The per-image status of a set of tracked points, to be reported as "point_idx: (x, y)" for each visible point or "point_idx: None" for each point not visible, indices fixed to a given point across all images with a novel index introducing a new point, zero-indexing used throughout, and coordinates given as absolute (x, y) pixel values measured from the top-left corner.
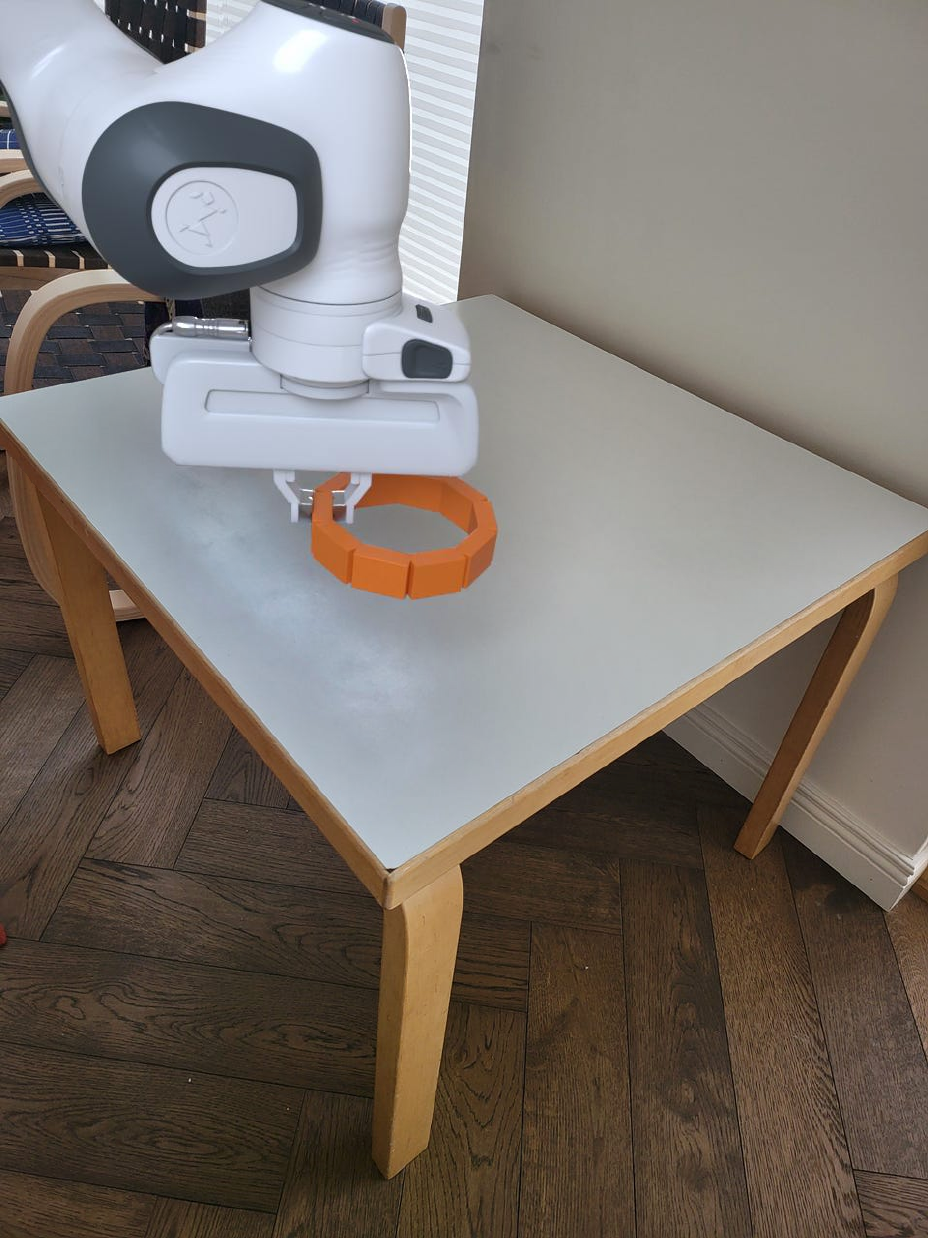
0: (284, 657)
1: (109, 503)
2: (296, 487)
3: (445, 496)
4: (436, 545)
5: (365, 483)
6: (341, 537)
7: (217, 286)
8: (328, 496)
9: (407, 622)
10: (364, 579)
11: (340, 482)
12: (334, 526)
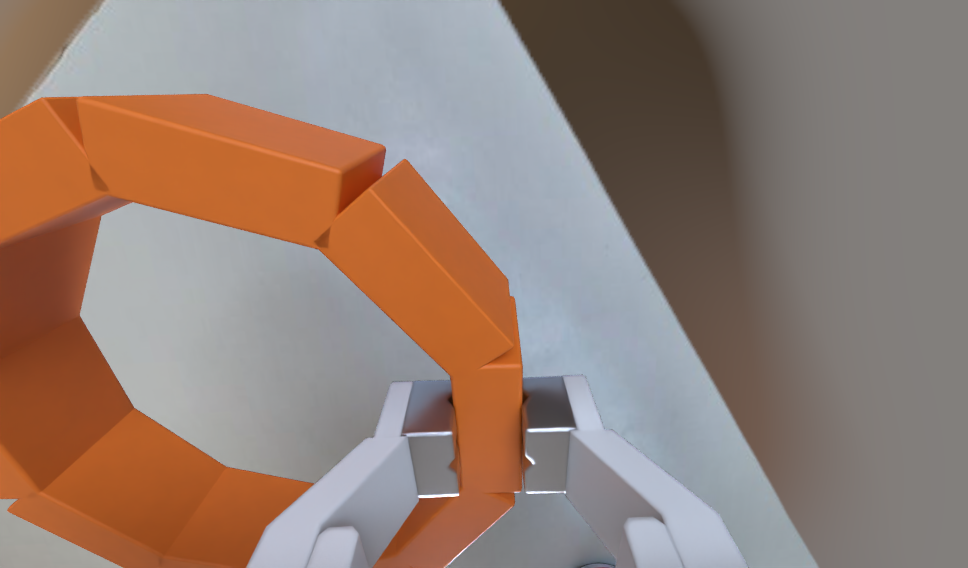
0: (533, 245)
1: (733, 482)
2: (588, 497)
3: (176, 508)
4: (352, 448)
5: (289, 535)
6: (406, 277)
7: None
8: (473, 477)
9: (373, 318)
10: (328, 139)
11: (443, 531)
12: (440, 339)
